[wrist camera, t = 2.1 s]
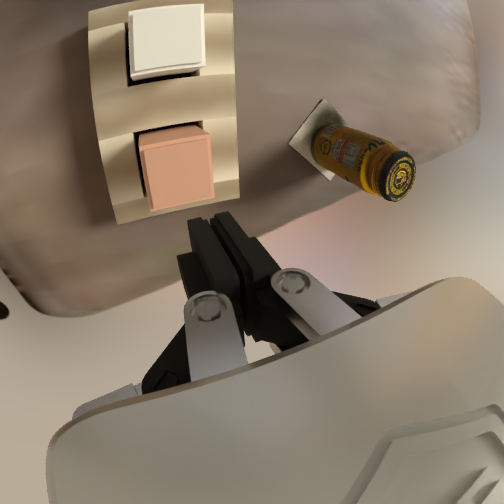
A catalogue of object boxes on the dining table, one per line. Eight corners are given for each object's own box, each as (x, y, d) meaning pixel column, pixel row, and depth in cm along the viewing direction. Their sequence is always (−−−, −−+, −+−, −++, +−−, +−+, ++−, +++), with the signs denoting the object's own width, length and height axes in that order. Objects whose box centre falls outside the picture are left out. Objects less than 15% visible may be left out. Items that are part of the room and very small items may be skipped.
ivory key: (130, 30, 15) (128, 10, 10) (188, 22, 17) (205, 2, 12) (133, 81, 18) (130, 76, 13) (190, 72, 19) (206, 65, 15)
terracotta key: (139, 134, 21) (138, 147, 16) (194, 124, 22) (210, 134, 18) (147, 185, 24) (150, 213, 19) (198, 175, 25) (216, 199, 20)
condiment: (329, 180, 35) (394, 221, 26) (287, 143, 30) (358, 176, 20) (359, 139, 33) (429, 169, 24) (322, 97, 28) (402, 114, 19)
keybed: (95, 22, 15) (88, 11, 12) (219, 6, 18) (232, -5, 15) (119, 207, 26) (117, 224, 23) (227, 184, 30) (239, 197, 27)
